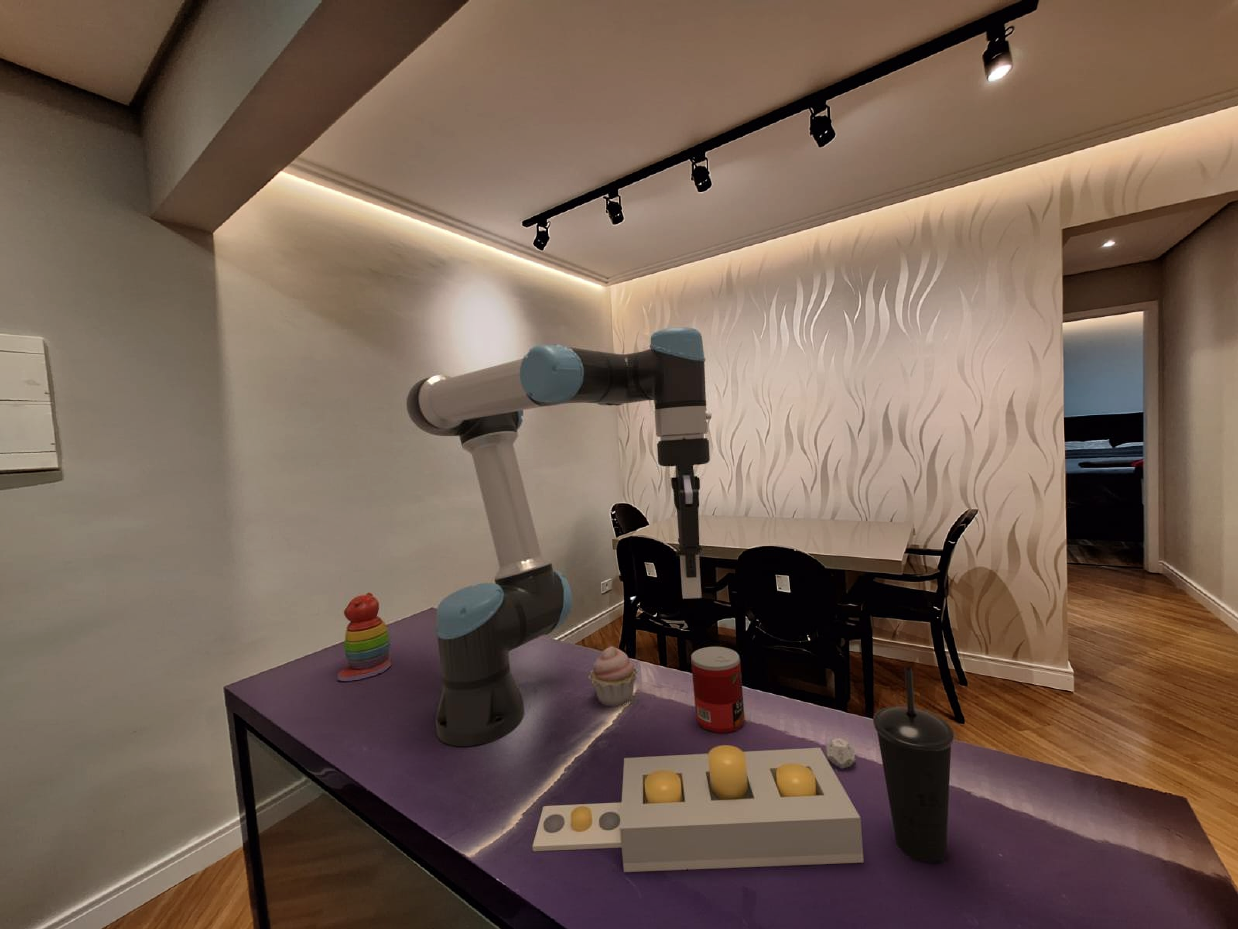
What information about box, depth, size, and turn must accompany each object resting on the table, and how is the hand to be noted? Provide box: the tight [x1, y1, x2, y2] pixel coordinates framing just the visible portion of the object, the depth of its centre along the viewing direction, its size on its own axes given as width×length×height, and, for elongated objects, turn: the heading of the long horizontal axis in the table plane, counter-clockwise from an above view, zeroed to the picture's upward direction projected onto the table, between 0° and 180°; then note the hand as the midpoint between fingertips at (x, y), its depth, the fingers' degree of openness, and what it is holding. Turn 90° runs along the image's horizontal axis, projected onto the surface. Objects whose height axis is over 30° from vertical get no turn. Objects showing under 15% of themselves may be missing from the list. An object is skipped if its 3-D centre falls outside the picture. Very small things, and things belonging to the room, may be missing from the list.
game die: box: [826, 737, 856, 770], centre depth 68 cm, size 4×4×3 cm
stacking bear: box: [338, 592, 391, 677], centre depth 113 cm, size 11×10×18 cm
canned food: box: [690, 646, 745, 734], centre depth 81 cm, size 8×8×11 cm
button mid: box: [707, 744, 748, 800], centre depth 59 cm, size 4×4×4 cm
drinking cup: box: [872, 666, 955, 864], centre depth 54 cm, size 8×8×20 cm
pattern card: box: [532, 801, 622, 852], centre depth 61 cm, size 11×6×2 cm, turn 87°
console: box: [620, 747, 865, 873], centre depth 59 cm, size 26×12×5 cm, turn 87°
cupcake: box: [588, 645, 639, 707], centre depth 91 cm, size 9×9×10 cm
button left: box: [645, 770, 682, 804], centre depth 59 cm, size 4×4×4 cm
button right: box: [776, 763, 816, 797], centre depth 59 cm, size 4×4×4 cm
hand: (691, 596), depth 72 cm, fingers closed
